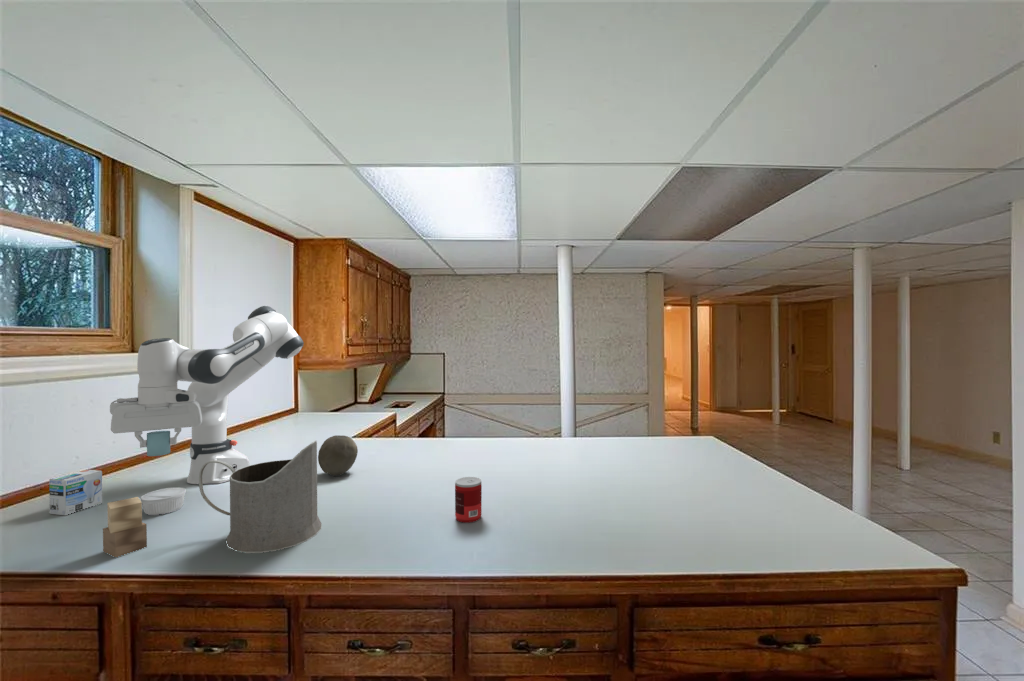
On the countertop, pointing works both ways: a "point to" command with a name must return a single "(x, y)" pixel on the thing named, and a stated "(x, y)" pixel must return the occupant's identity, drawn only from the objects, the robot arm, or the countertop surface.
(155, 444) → the teal tapered block
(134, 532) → the walnut block
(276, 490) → the pitcher
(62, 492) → the light bulb box
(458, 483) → the canned food
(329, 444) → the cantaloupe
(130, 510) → the oak block
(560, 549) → the countertop surface
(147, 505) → the ramekin
